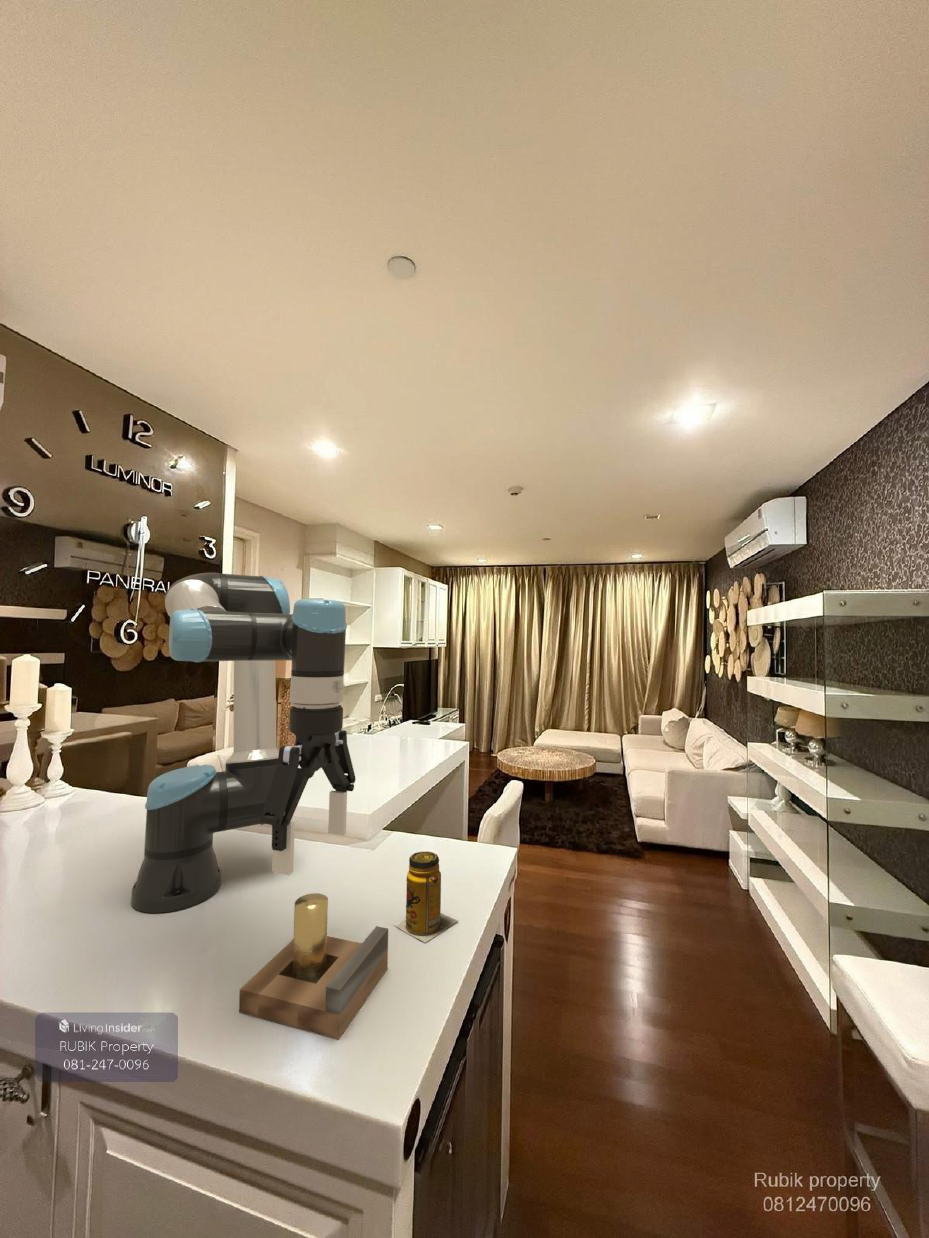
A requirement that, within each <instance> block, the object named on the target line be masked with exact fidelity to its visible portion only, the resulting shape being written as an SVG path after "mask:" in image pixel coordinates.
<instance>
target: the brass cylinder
mask: <svg viewBox="0 0 929 1238" xmlns="http://www.w3.org/2000/svg"><path fill="white" fill-rule="evenodd" d="M328 907H329V899H328V896H327V895H325V894H322V893H315V892H314V893H307V894H305V895H302V896H300V897H298V898H297V899H296V900H295V902H294V907H293V908H294V910H293V913H294V914H293V939H294V940H293V939H292V940H293V973H292V978H294V979H299V980H303V981H307V982H311V983H315V984H316V983H317V982H318V981H319V979H320V978H321V977H322V976H323V975H324V974H325V973H326V951H327V936H328Z"/></svg>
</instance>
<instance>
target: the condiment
mask: <svg viewBox="0 0 929 1238" xmlns="http://www.w3.org/2000/svg"><path fill="white" fill-rule="evenodd" d="M408 862H409V863H408V864H409V865H408V871H407V874H406V880H405V881H406V897H405V898H406V899H405V900H406V903H405V908H406V909H405V921H403V922H400V923H399V924H397V925H395V927H396V928H398V929H399V930H401V931H402V932H404V933H406V934H408V935H410V936H412V937H413V938H415V939H417V940H420V941H422V942H423V943H427V942H429V941H430V940H432V939H433V938H435V937H436V936H438V935H439V934H441V933H442V932H444V931H445V930H446V929H448V928H450V927H452V926H453V925H454V924H455V923H457V922H459V920H458V919H456V918H452V917H451V916H448V915H446V914H444V913H441V912H442V910H441V906H442V905H441V904H442V903H441V902H442V899H441V897H442V874H441V873H442V872H441V871H440V857H439V856H438V854H437V853H434V852H432V851H417V852H415V853H412V854H411V855H410V856H409V860H408Z"/></svg>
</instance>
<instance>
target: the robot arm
mask: <svg viewBox="0 0 929 1238" xmlns="http://www.w3.org/2000/svg"><path fill="white" fill-rule="evenodd" d="M164 607H165V610H166V612H167V615H168V616H169V617H170V619H169V620H170V621H169V630H168V631H169V633H168V652H169V653H168V654H169V656H170V658H171V659H173V660H174V661H177V662H180V661H181V662H193V663H202V662H233V752H232V754H231V755H230V756H229V758H227V759H226V760H225V770H224V771H217V769H216V767H215V766H213V765H211V764H201V765H200V764H197V765H190V766H185V767H180V768H177V769H173V770H171V771H167V772H165V773H162V774H161V775H159V776H156V778H154V779H152V781H151V782H150V783H149V785H148V787H147V793H146V795H147V796H146V802H145V804H144V808H145V810H146V814H145V816H146V817H145V833H144V834H145V835H144V849H143V850H144V851H143V852H144V853H143V856H144V857H143V861H142V863H141V864H140V865H141V866H140V868H139V871H138V874H137V878H136V880H135V881H134V884H133V886H132V888H131V897H130V898H131V899H130V904H131V906H132V908H134V909H135V910H137V911H140V912H143V913H152V914H153V913H155V914H156V913H157V914H159V913H169V912H175V911H179V910H184V909H187V908H190V907H193V906H195V905H199V904H200V903H202V902H205V901H206V900H209V898H212V897H213V896H214V895H215V894H216V893H217V892H218V891H219V890H220V888H221V884H222V871H221V868H220V867H219V865H218V861H217V860H218V859H217V856H216V854H215V850H214V847H213V846H214V845H213V844H214V843H213V842H214V841H213V839H214V833H219V832H225V831H231V830H235V829H236V830H237V829H242V828H246V827H251V826H257V825H261V826H264V825H269V826H271V850H272V857H271V858H272V861H271V862H272V865H271V872H272V873H274V874H275V873H276V874H281V875H287V876H290V875H292V874H293V873H294V856H295V855H294V854H295V849H294V848H295V847H294V846H295V829H296V828H295V826H296V825H295V822H291V821H292V819H293V816H294V814H295V813H296V810H297V807H298V805H299V802H300V800H301V798H302V795H303V793H304V791H305V788H306V786H307V783H308V782H309V779H311V778H312V777H314V775H315V772H317V771H319V770H320V769H322V771H323V773H324V774H325V777H326V778H327V780H328V783H330V785H331V788H332V789H333V790H330V791H329V793H328V794H329V795H328V796H329V797H328V799H329V800H328V827H327V828H328V832H327V834H332V835H337V836H341V837H342V836H345V835H346V834H347V812H348V811H347V809H348V806H347V804H348V792H353V791H354V790H355V783H356V780H357V779H356V774H355V771H354V765H353V762H352V758H351V754H350V749H349V745H348V733H347V731H346V730H345V729H344V730H343V726H344V725H343V723H344V708H343V706H342V705H340V704H341V703H342V702H344V689H345V686H346V685H345V683H344V682H345V681H344V680H345V679H344V675H345V661H346V660H345V659H346V658H345V657H346V635H347V634H346V633H347V632H346V631H347V627H348V623H347V616H346V615H347V614H346V612H347V611H346V610H347V609H346V606H345V604H344V603H343V602H342V601H340V600H336V599H324V598H323V599H320V598H302V599H298V600H296V601H295V602H294V603H293V609H292V610H293V611H292V613H291V602H290V597H289V593H288V589H287V587H286V585H285V584H284V582H283V581H281V580H280V579H279V578H274V577H267V576H264V575H260V576H258V575H243V574H232V573H220V572H203V573H202V572H201V573H196V574H191V575H188V576H185V577H183V578H181V579H179V580H176V581H175V582H174V583H173V584H172V585H171V586H169V588H168V589H167V591H166V592H165V595H164ZM276 661H291V673H290V674H291V675H290V688H289V689H290V690H289V702H290V703H291V704H293V705H292V706H291V708H289V720H288V721H289V724H288V728H289V732H290V733H291V734H293V735H294V736H295V741H294V745H293V746H290V745H281V746H280V748H279V749H278V748H277V701H276V700H277V699H276V697H277V695H276V693H277V691H276V688H277V687H276V685H277V684H276Z"/></svg>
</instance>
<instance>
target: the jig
mask: <svg viewBox="0 0 929 1238" xmlns="http://www.w3.org/2000/svg"><path fill="white" fill-rule="evenodd" d="M293 940H294V938H293V939H291V941H289V942H288V944H286V946H284V947H283V948H282V949H281V950H280V951H279V952H278V953H277V954H276V955H275V956H274V957H272V959H271V960H269V961H268V962H267V963H266V964H265V965H264V966H263V967H262V968H261V969H260V970H259V971H257V973H256V974H254V975H253V976H252V977H251V978H250V979H249V980H248V981H247V982H245V984H243V986H241V987H240V988H239V1003H238V1006H239V1007H238V1012H239V1014H240V1013H241V1014H244V1015H248V1016H251V1017H255V1018H259V1019H262V1020H267V1021H270V1022H273V1023H277V1024H280V1025H283V1026H284V1025H285V1026H287V1027H290V1028H291V1027H292V1028H294V1029H299V1030H302V1031H305V1032H308V1033H313V1034H316V1035H320V1036H324V1037H327V1038H330V1039H334V1040H340V1039H341V1037H342V1035H343V1034H344V1033H345V1032H346V1030H347V1029H348V1027H349V1026H350V1025H351V1023H352V1021H353V1020H354V1018H355V1017H356V1016H357V1014H358V1013H359V1011H360V1010H361V1008H362V1007H363V1006H364V1004H365V1003H366V1001H367V999H369V997H370V995H371V993H372V992H373V991H374V989H375V988H376V986H377V985H378V983H379V982H380V980H381V979H382V977H383V976H384V975H385V973H386V972H387V971H388V964H389V963H388V959H389V958H388V954H389V928H387V927H383V926H378V925H376V926H375V927H374V929H373V930H372V931H370V933H369V934H368V936H367V937H366V938H365V939H364V941H363V942H359V941H358V942H357V941H352V940H348V939H344V938H343V939H342V938H339V937H335V936H328V935H327V951H326V973H325V974H324V975H323V976H322V977H321V978H320V979H319V981H318V982H317V983H316V984H315V983H311V982H307V981H303V980H299V979H294V978H292V973H293Z"/></svg>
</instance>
